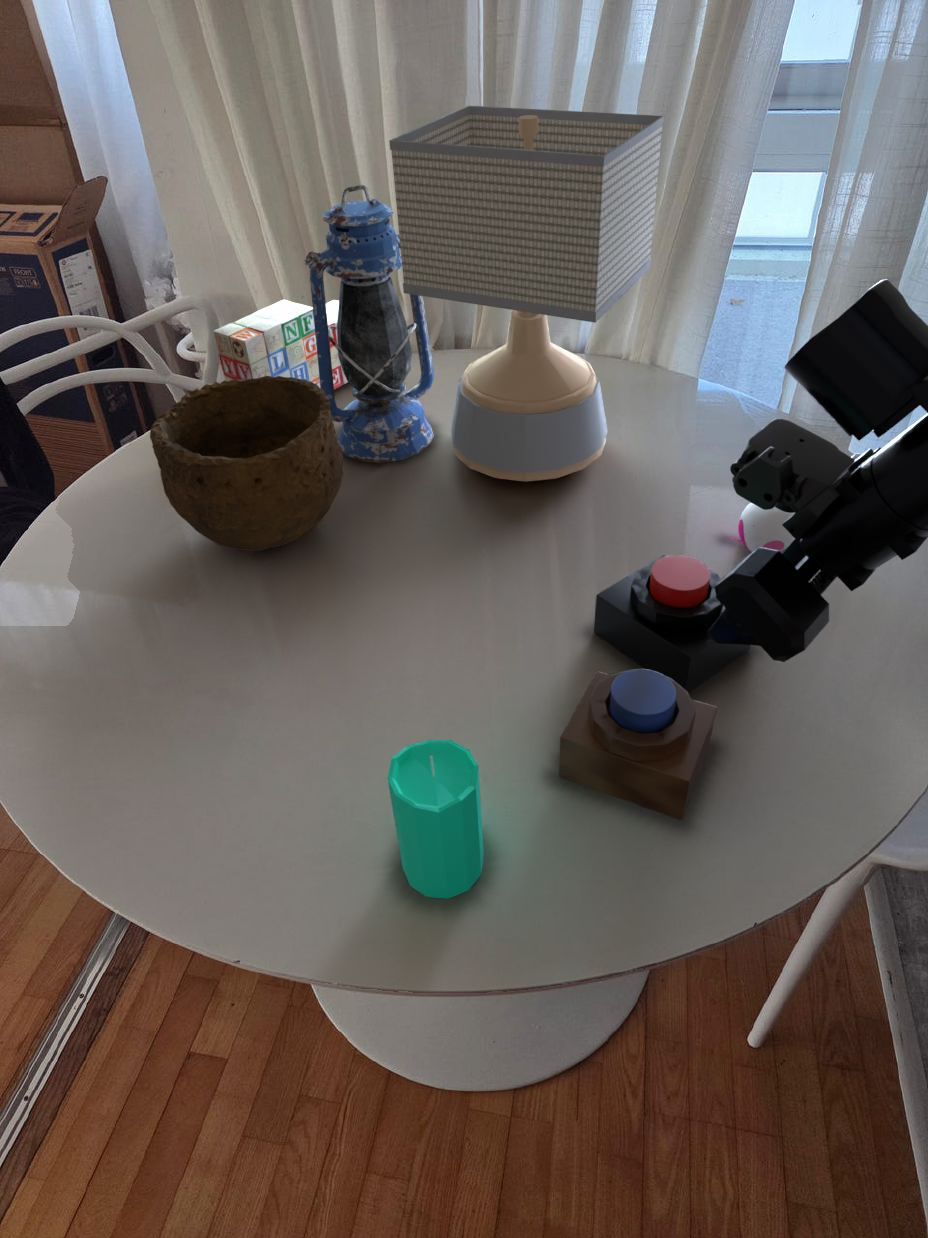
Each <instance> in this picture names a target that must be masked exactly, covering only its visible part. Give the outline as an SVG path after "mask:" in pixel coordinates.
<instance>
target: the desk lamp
mask: <svg viewBox="0 0 928 1238" xmlns="http://www.w3.org/2000/svg"><path fill="white" fill-rule="evenodd" d="M664 125H665V115H652V114H635V113H633V114H632V113H618V112H617V113H615V112H614V113H613V112H597V111H579V110H577V111H576V110H562V109H561V110H560V109H559V110H558V109H539V108H525V107H523V108H521V107H505V106H504V107H503V106H502V107H501V106H484V105H466V106H464V107H462V108H460V109H457V110H455V111H453V112H450V113H448V114H445V115H444V116H441V117H439V118H437V119H434V120H432V121H430V122H428V123H426V124H424V125H422V126H419V127H417V128H415V129H412V130H410V131H407V132H406V133H403V134H401V135H398V136H396V137H394V138H392V139H390V140H389V150H390V151H391V160H392V170H393V171H392V173H393V183H394V192H395V193H394V194H395V203H396V213H397V224H398V226H397V227H398V234H399V236H400V247H401V249H400V256H401V258H402V266H401V269H402V278H403V283H402V290H403V294H406V295H410V294H413V295H419V296H423V297H426V298H434V299H440V300H446V301H452V302H457V303H458V302H459V303H466V304H472V305H478V306H484V307H491V308H498V309H503V310H504V309H505V310H510V311H511V312H510V316H509V321H508V330H507V338H506V343H504V344H503V345H502V346H500V347H498V348H496V349H494V350H493V351H491V352H489V353H487V354H485V355H483V356H481V357H479V358H477V359H476V360H474V361H472V362H471V363H469V364H468V366H467V368H466V369H465V371H464V372H463V373H462V375H461V377H460V379H459V380H458V383H457V389H456V396H455V401H454V407H453V414H452V415H453V416H452V421H451V426H450V434H451V435H450V436H451V439H452V446H453V451H454V455H455V456H456V457H457V458H458V459H459V460H460V461H461V462H462V463H463V464H465V466H467V468H468V469H470V470H473V471H475V472H478V473H481V474H484V475H487V476H489V477H492V478H494V479H500V480H510V481H516V482H517V481H518V482H526V483H527V482H535V481H545V480H546V481H548V480H556V479H558V478H561V477H565V476H567V475H569V474H570V475H571V474H574V473H576V472H580V471H582V470H584V469H586V467H588V466H590V465H591V464H592V463H593V462H594V461H596V460H597V459H599V458H600V457H601V456H602V453H603V450H604V448H605V445H606V442H607V436H608V432H609V431H608V425H607V418H606V412H605V407H604V400H603V394H602V389H601V388H602V387H601V382H600V380H599V378H598V374H596V371H595V369H593V366H592V365H591V363H590V362H588V361H587V360H585V359H584V358H582V357H581V356H579V355H578V354H577V353H576V354H575V353H573V352H571V351H569V350H566V349H564V348H562V347H560V346H559V345H557V344H555V343H553V342H551V337H550V336H551V335H550V329H549V322H548V316H550V317H557V318H563V319H568V320H569V319H570V320H576V321H582V322H589V323H595V324H597V322H598V321H599V320H600V319H601V318H602V317H603V316H605V314H607V312H608V311H609V310H610V309H611V308H612V307H613V306H614V305H615V304H616V303H618V301H619V300H620V299H621V298H622V297H623V296H624V295H625V294H626V293H627V292H628V291H629V290H630V289H631V288H632V287H633V286H634V285H635V284H636V283H637V282H638V281H639V280H640V279H641V278H642V277H643V276H644V275H645V274H646V273H647V272H648V271H649V270H650V269H651V265H652V257H651V256H652V246H653V245H652V244H653V233H654V222H655V221H654V220H655V212H656V200H657V189H658V177H659V166H660V156H661V144H662V135H663V126H664Z"/></svg>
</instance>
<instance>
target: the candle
mask: <svg viewBox="0 0 928 1238" xmlns="http://www.w3.org/2000/svg"><path fill="white" fill-rule="evenodd" d="M388 768H389V769H388V773H387V783H388V790H389V795H390V803H391V807H392V813H393V819H394V826H395V832H396V837H397V842H398V849H399V853H400V854H399V856H400V860H401V861H400V862H401V867H402V871H403V872H404V875H405V877H406V879H407V882H408V885H409V886H410V887H411V888H413V889H415V890H416V891H417V892H419V893H420V894H421V895H422V896H425V897H427V898H435V899H436V898H437V899H447V900H449V899H452V898H454V897H456V896H459V895H461V894H464V893H466V892H468V891H470V890H471V889H472V888H473V886H474V885H475V883H476V882H477V881H478V880H479V878H480V877H481V876H482V874H483V873H482V872H483V865H484V857H485V856H484V854H485V853H484V839H483V837H484V836H483V821H482V820H483V819H482V804H481V802H482V800H481V786H480V784H481V783H480V767H479V763H478V762H477V760H476V759H475V757H474V755H473V754H472V751H471V750H470V749H469V748H468V747H465V746H463V745H461V744H460V743H457V742H456V741H454V740H452V739H426V740H423V741H419V742H415V743H412V744H409V745H406V746H404V748H402V749H400V750H399V751H398V752H397V753H396V754H394V755H393V756H392V757H391V759H390V765H389V767H388Z"/></svg>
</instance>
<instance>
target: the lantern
mask: <svg viewBox="0 0 928 1238" xmlns="http://www.w3.org/2000/svg"><path fill="white" fill-rule="evenodd" d="M357 191H363V192H364V196H365V198H366V200H362V199H361V200H352V201H347V198H348V197H347V196H348V194H349V193H352V192H357ZM394 214H395V212H394V209H393V207H391V206H389V205H388V204H386V203H385V204H384V203H382V202H380V201H379V200H378V199H376V198H371V194H370V190H369V189H368V187H366V186H365V184H357V185H353V186H348V187H346V188H345V189H344V190H343V192H342V194H341V203H339V204H337V205H333V207H332V208H331V209H328V210H326V211H325V212H324V213H323V214H322V221H323V222H325V223H327V224H328V232H327V233H326V234H325V240H326V249H325V250H323V251H322V252H316V251H313V250H311V251H309V252H308V253H307V255H306V257H305V259H304V261H303V264H304V265H305V266H308V268H309V281H310V283H309V284H310V291H311V292H310V293H311V304H312V307H313V315H314V325H315V335H316V346H317V356H318V367H319V377H320V387H321V389H322V390H323V391H324V392H325V394H326V396H327V398H328V401H329V402H330V403H331V404H330V411H331V416H332V420H333V422H336V423H342V427H341V430H340V433H339V435H338V438H337V440H338V443H339V446H340V448H341V451H342V453H343V454H344V455H346V457H349V458H352V459H355V460H357V461H360V462H367V463H380V464H381V463H389V462H397V461H401V460H405V459H408V458H410V457H413V456H416V455H418V454H420V453H421V452H423V451H424V450H426V449H427V448H428V447H429V446H430V445H431V444H432V441H433V439H434V437H435V435H434V432H433V427H432V426H431V425H430V423H429V421H428V420H427V419H426V416H425V415H426V414H425V410H424V406H423V402H421V401H420V400H419V398H421V397H423V396H424V395H426V394H427V392H428V391H429V390H430V389H431V388H432V385H433V383H434V380H435V375H434V371H435V370H434V365H433V358H432V357H433V356H432V351H431V344H430V336H429V330H428V324H427V323H428V322H427V318H426V317H427V315H426V311H425V303H424V296H419V295H413V294H409V298H410V305H411V311H412V312H411V313H412V319H413V322H411V323H410V324H409V325H407V321H406V318H405V315H404V312H403V309H402V306H401V303H400V301H399V296H398V294H397V292H396V291H397V290H396V289H395V285H394V282H393V279H392V277H391V274H392V273H394V272H397V271H398V270H400V269H401V268H402V258H401V252H400V250H401V247H400V236H399V233H396V229H395V227H394V226H392V225H391V222H390V221H391V220H390V218H391V217H392V216H393V215H394ZM324 272H326V273H327V274H329V275H330V276H331V277H335V278H340V280H341V281H340V287H339V298H338V301H339V308H338V319H337V326H334V325H333V326H329V327H328V322H327V312H326V303H327V302H326V291H325V282H324ZM330 329H337V338H338V345H337V344H336V343H335V341H334V340H333V338H332V336H331V334H330V331H329V330H330ZM410 329H411V330H410ZM409 330H410V331H409ZM414 332H415V340H416V347H417V352H418V361H419V366H420V379H419V381H418V382H417V384H415V385H414V386H413V387H412V388H410V389H408V390H407V385H406V382H405V380H406V378H407V376H408V375H409V374H410V372H411V367H412V357H413V356H412V355H413V352H412V345H411V341H410V339H411V337H412V335H413V334H414ZM329 339H330V341H331V342H332V344H333V345H334V346H335V347H336V349H337V350H338V357H339V360H340V363H341V366H342V369H343V372H344V375H345V377H346V379H347V381H348V383H349V384H350V385H351V387H353V388H352V397H354V398H355V399H354V400H352V401H351V402H349V403H348V404H346V405H345V407H344V408H340V407H338V405H337V403H336V395H335V389H334V384H333V374H332V363H331V353H330V343H329Z"/></svg>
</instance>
